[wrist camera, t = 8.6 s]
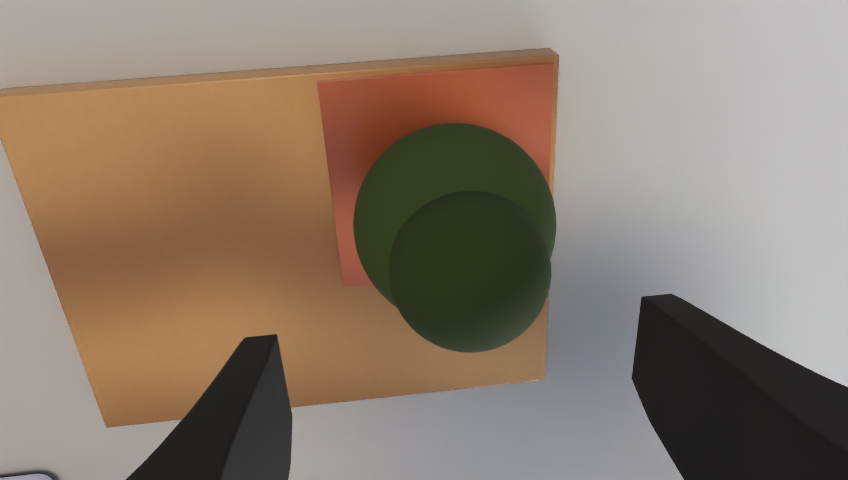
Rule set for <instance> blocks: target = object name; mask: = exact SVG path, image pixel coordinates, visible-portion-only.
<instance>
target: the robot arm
mask: <svg viewBox="0 0 848 480" xmlns="http://www.w3.org/2000/svg"><path fill="white" fill-rule="evenodd" d="M632 380H633V383H634V385H635V387H636V390H637V392H638V395H639V397H640V400H641V402H642V405H643V407H644V409H645V411H646V414H647V416H648V418H649V421H650V423H651V424H652V426H653V428H654V430H655V431H656V433H657V435H658V437H659V438H660V440H661V442H662V443H663V445H664V447H665V448H666V450H667V452H668V454H669V455H670V457H671V459H672V460H673V462H674V464H675V465H676V467H677V469H678V470H679V472H680V474H681V475H682V477H683V479H684V480H848V387H846V386H844V385H841V384H839V383H837V382H834V381H832V380H830V379H828V378H826V377H824V376H822V375H819V374H817V373H815V372H813V371H811V370H809V369H807V368H805V367H803V366H801V365H799V364H798V363H796V362H794V361H792V360H790V359H788V358H786V357H784V356H782V355H780V354H778V353H776V352H774V351H773V350H771V349H769V348H767V347H765V346H763V345H762V344H760V343H758V342H756V341H754V340H753V339H751V338H749V337H747V336H746V335H744V334H742V333H740V332H739V331H737V330H735V329H733V328H732V327H730V326H728V325H727V324H725V323H723V322H721V321H720V320H718V319H716V318H715V317H713V316H711V315H709V314H708V313H706V312H704V311H703V310H701V309H699V308H697V307H696V306H694V305H692V304H690V303H688V302H687V301H685V300H683V299H681V298H679V297H677V296H675V295H673V294H664V295H654V296H645V297H642V298H641V306H640V315H639V323H638V331H637V339H636V348H635V356H634V364H633V372H632ZM291 442H292V412H291V406H290V401H289V396H288V390H287V385H286V380H285V374H284V369H283V364H282V358H281V353H280V348H279V342H278V337H277V334H272V335H263V336H253V337H245V338H244V339H243V340H242V341H241V342H240V344H239V345H238V346H237V348H236V349H235V351H234V352H233V353H232V355H231V356H230V358H229V359H228V361H227V362H226V363H225V365H224V366H223V368H222V369H221V370H220V372H219V373H218V374H217V376H216V377H215V378H214V380H213V381H212V383H211V384H210V385H209V387H208V388H207V389H206V390H205V392H204V393H203V394H202V396H201V397H200V398H199V399H198V401H197V402H196V403H195V405H194V406H193V407H192V408H191V410H190V411H189V412H188V413H187V415H186V416H185V417H184V418H183V419H182V420H181V422H180V423H179V424H178V425H177V426H176V427H175V428H174V430H173V431H172V432H171V433H170V434H169V435H168V437H167V438H166V439H165V440H164V441H163V442H162V443H161V445H160V446H159V447H158V448H157V449H156V450H155V451H154V452H153V453H152V454H151V455H150V456H149V457H148V458H147V459H146V460H145V461H144V462H143V464H142V465H141V466H140V467H138V468H137V469H136V470H135V471H134V472H133V473H132V474H131V475H130V476H129V477H128V478H127V479H126V480H288V477H289V471H290V464H291ZM0 480H52V479H51V478H50V477H49V476H47V475H44V474H30V475H21V476H12V477H3V478H0Z"/></svg>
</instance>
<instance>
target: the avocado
mask: <svg viewBox="0 0 848 480" xmlns="http://www.w3.org/2000/svg"><path fill="white" fill-rule="evenodd" d="M353 232H354V239H355V245H356V250H357V254H358V256H359V259H360V262H361V264H362V266H363V268H364V270H365V272H366V274H367V276H368V278H369V279H370V281H371V282H372V284H373V285H374V286H375V288H376V289H377V290H378V291H379V292H380V293H381V294H382V295H383V296H384V297H385V298H386V299H387V300H388V301H389V302H390V303H391V304H393V305H394V306H395V307H397V308H398V310H399V312H400V314H401V315H402V317H403V318H404V320H405V321H406V322H407V323H408V325H409V326H410V327H411V328H412V329H413V330H414V331H415V332H416V333H417V334H419V335H420V336H421V337H423V338H424V339H426V340H427V341H429V342H431V343H432V344H434V345H437V346H439V347H441V348H444V349H448V350H451V351H457V352H465V353H476V352H484V351H489V350H493V349H496V348H499V347H501V346H504V345H506V344H508V343H510V342H511V341H513V340H514V339H516V338H517V337H519V336H520V335H521V334H522V333H524V332H525V331H526V330H527V329H528V328H529V327H530V326H531V324H532V323H533V322H534V321H535V319H536V318H537V317H538V315H539V313H540V312H541V310H542V308H543V306H544V303H545V301H546V298H547V296H548V292H549V288H550V280H551V263H550V257H551V255H552V251H553V247H554V242H555V233H556V213H555V207H554V202H553V197H552V194H551V191H550V188H549V185H548V183H547V181H546V179H545V178H544V176H543V174H542V172H541V170H540V168H539V167H538V166H537V164H536V163H535V161H534V160H533V159H532V158H531V157H530V156H529V155H528V154H527V153H526V152H525V151H524V150H523V149H522V148H521V147H520V146H519V145H517V144H516V143H515V142H514V141H512V140H511V139H509V138H507V137H505V136H504V135H502V134H500V133H498V132H496V131H493V130H491V129H488V128H486V127H482V126H478V125H474V124H466V123H444V124H437V125H432V126H429V127H425V128H421V129H419V130H417V131H414V132H412V133H409V134H408V135H406V136H404V137H403V138H401V139H399V140H397V141H396V142H395V143H394V144H392V145H391V146H390V147H388V148H387V149H386V150H385V151H384V152H383V153H382V154H381V155H380V156H379V157H378V158H377V160H376V161H375V162H374V164H373V165H372V166H371V168H370V169H369V171H368V173H367V175H366V176H365V178H364V180H363V182H362V184H361V187H360V189H359V192H358V195H357V199H356V203H355V209H354V218H353Z"/></svg>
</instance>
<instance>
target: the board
mask: <svg viewBox="0 0 848 480" xmlns="http://www.w3.org/2000/svg"><path fill="white" fill-rule="evenodd" d="M558 67H559V55H558V54H557V53H555V52H554V51H553V50H551V49H550V48H544V49H530V50H517V51H504V52H490V53H477V54H463V55H450V56H436V57H423V58H409V59H396V60H383V61H369V62H356V63H342V64H329V65H315V66H302V67H289V68H275V69H262V70H248V71H235V72H221V73H208V74H194V75H181V76H168V77H154V78H141V79H127V80H114V81H100V82H87V83H73V84H60V85H47V86H33V87H20V88H6V89H1V90H0V138H1V141H2V144H3V146H4V149H5V152H6V155H7V157H8V160H9V163H10V165H11V168H12V171H13V174H14V176H15V179H16V182H17V185H18V187H19V190H20V193H21V196H22V198H23V201H24V204H25V207H26V209H27V212H28V215H29V217H30V220H31V223H32V226H33V228H34V231H35V234H36V237H37V239H38V242H39V245H40V248H41V250H42V253H43V256H44V258H45V261H46V264H47V267H48V269H49V272H50V275H51V278H52V280H53V283H54V286H55V289H56V291H57V294H58V297H59V299H60V302H61V305H62V308H63V310H64V313H65V316H66V319H67V321H68V324H69V327H70V330H71V332H72V335H73V338H74V340H75V343H76V346H77V349H78V351H79V354H80V357H81V360H82V362H83V365H84V368H85V371H86V373H87V376H88V379H89V381H90V384H91V387H92V390H93V392H94V395H95V398H96V401H97V403H98V406H99V409H100V412H101V414H102V417H103V420H104V422H105V425H106V427H116V426H125V425H135V424H144V423H153V422H162V421H171V420H180V419H183V418H184V417H185V416H186V415H187V413H188V412H189V411H190V410H191V408H192V407H193V406H194V405H195V403H196V402H197V401H198V399H199V398H200V397H201V396H202V394H203V393H204V392H205V390H206V389H207V388H208V387H209V385H210V384H211V383H212V381H213V380H214V378H215V377H216V376H217V374H218V373H219V372H220V370H221V369H222V368H223V366H224V365H225V363H226V362H227V361H228V359H229V358H230V356H231V355H232V353H233V352H234V351H235V349H236V348H237V346H238V345H239V344H240V342H241V341H242V340H243V339H244V338H245V337H253V336H263V335H272V334H277V337H278V342H279V348H280V353H281V358H282V364H283V369H284V374H285V380H286V385H287V390H288V396H289V401H290V406H291V407H300V406H309V405H318V404H328V403H337V402H346V401H355V400H364V399H374V398H383V397H392V396H401V395H410V394H420V393H429V392H438V391H447V390H456V389H466V388H475V387H484V386H493V385H502V384H512V383H521V382H530V381H539V380H545V364H546V341H547V319H548V296H549V292H548V296H547V298H546V301H545V303H544V306H543V308H542V310H541V312H540V313H539V315H538V317H537V318H536V319H535V321H534V322H533V323H532V324H531V326H530V327H529V328H528V329H527V330H526V331H525V332H524V333H522V334H521V335H520V336H519V337H517V338H516V339H514V340H513V341H511V342H510V343H508V344H506V345H504V346H501V347H499V348H496V349H493V350H489V351H484V352H476V353H465V352H457V351H451V350H448V349H444V348H441V347H439V346H437V345H434V344H432V343H431V342H429V341H427V340H426V339H424V338H423V337H421V336H420V335H419V334H417V333H416V332H415V331H414V330H413V329H412V328H411V327H410V326H409V325H408V323H407V322H406V321H405V320H404V318H403V317H402V315H401V314H400V312H399V310H398V308H397V307H395V306H394V305H393V304H391V303H390V302H389V301H388V300H387V299H386V298H385V297H384V296H383V295H382V294H381V293H380V292H379V291H378V290H377V289H376V288H375V286H374V285H373V284H372V282H371V281H370V279H369V278H368V276H367V274H366V272H365V270H364V268H363V266H362V264H361V262H360V259H359V256H358V254H357V250H356V245H355V239H354V232H353V218H354V209H355V203H356V199H357V195H358V192H359V189H360V187H361V184H362V182H363V180H364V178H365V176H366V175H367V173H368V171H369V169H370V168H371V166H372V165H373V164H374V162H375V161H376V160H377V158H378V157H379V156H380V155H381V154H382V153H383V152H384V151H385V150H386V149H387V148H388V147H390V146H391V145H392V144H394V143H395V142H396V141H397V140H399V139H401V138H403V137H404V136H406V135H408V134H409V133H412V132H414V131H417V130H419V129H421V128H425V127H429V126H432V125H437V124H444V123H466V124H474V125H478V126H482V127H486V128H488V129H491V130H493V131H496V132H498V133H500V134H502V135H504V136H505V137H507V138H509V139H511V140H512V141H514V142H515V143H516V144H517V145H519V146H520V147H521V148H522V149H523V150H524V151H525V152H526V153H527V154H528V155H529V156H530V157H531V158H532V159H533V160H534V161H535V163H536V164H537V166H538V167H539V168H540V170H541V172H542V174H543V176H544V178H545V179H546V181H547V183H548V185H549V188H550V191H551V194H552V197H553V181H554V158H555V136H556V113H557V90H558Z"/></svg>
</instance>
